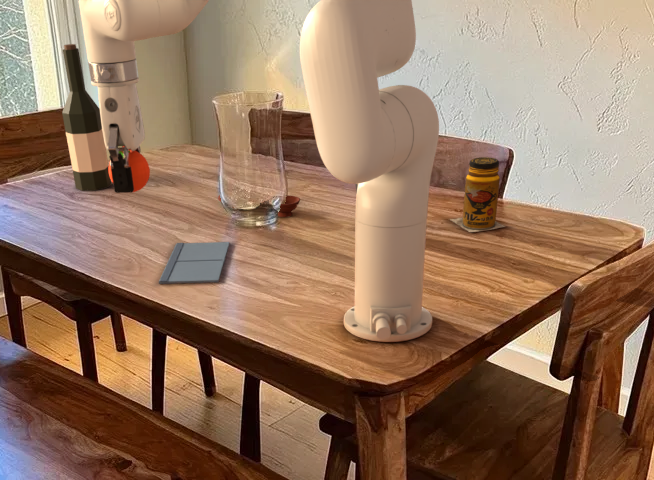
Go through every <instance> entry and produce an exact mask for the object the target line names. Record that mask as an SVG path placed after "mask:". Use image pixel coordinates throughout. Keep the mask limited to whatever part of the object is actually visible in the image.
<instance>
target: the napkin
mask: <svg viewBox="0 0 654 480" xmlns="http://www.w3.org/2000/svg"><path fill="white" fill-rule="evenodd" d="M230 244H231V243H230V241H218V242H217V241H214V242H212V241H211V242H177V243H175V246H174V247H173V250H172V252H171V254H170V255H169V259H168V261H167V263H166V264H165V267H164V269H163V271H162V274H161V276H160V278H159V280H158V284H159V285H165V284H169V285H170V284H201V283H202V284H203V283H207V284H208V283H219V282H220V279H221V275H222V272H223V268H224V264H225V262H226V258H227V254H228V251H229V247H230Z"/></svg>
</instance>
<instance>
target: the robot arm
mask: <svg viewBox="0 0 654 480" xmlns="http://www.w3.org/2000/svg"><path fill="white" fill-rule="evenodd" d="M209 1H210V0H78V6H79V13H80V19H81V25H82V32H83V39H84V44H85V45H84V46H85V51H86V57H87V63H88V64H87V65H88V68H89V69H88V70H89V76H90V85H91V86H93V87H97V95H98V105H99V106H98V107H99V109H100V116H101V124H102V131H103V137H104V142H105V146H106V151H108V153H109V157H108V158H109V160H110V161H109V163H110V166H111V172H112V178H113V183H112V184H113V190H114V191H113V192H114V193H116V194H125V193H127V194H128V193H134V192H133V191H134V185H133V178H132V171H131V167H129V150H132V151H137V152H139V153H140V154H141V152H142V151H141V145H142V143H143V142H144V141H145V139H146V132H145V127H144V121H143V113H142V108H141V102H140V98H139V92H138V88H137V83H139V82H140V77H139V71H138V70H139V69H138V61H137V54H136V46H135V42H136V41H137V42H138V41H143V40H148V39H153V38H158V37H165V36H171V35H175V34H178V33H180V32H182V31H183V30H185V29H186V28H187V27H189V25H191V23H193V21H194V20H195V19H196V18H197V16H198V15H199V14H200V13H201V12H202V10H203V9H204V8H205V7H206V5H207V4H208V2H209ZM414 15H415V14H414V7H413V1H412V0H319V1H318V2H317V3H316V4H315V5H314V6H313V7H312V8H311V9H310V10H309V12H308V13H307V15H306V17H305V19H304V21H303V25H302V28H301V32H300V39H299V59H300V61H299V62H300V67H301V72H302V73H301V74H302V78H303V82H304V83H303V84H304V87H305V94H306V98H307V103H308V108H309V114H310V119H311V123H312V128H313V133H314V138H315V143H316V147H317V149H318V153H319V156H320V159H321V161H322V163H323V165H324V166H325V168H326V170H327V171H328V172H329V173H330V174H331V175H332V176H333V177H334V178H335V179H337V180H338V181H340V182H342V183H346V184H351V185H356V184H358V188H357V194H356V193H355V195H356V196H355V197H356V198H355V212H354V213H355V215H354V216H355V217H354V225H355V226H354V305H353V306H352V307H350V308H348V309H347V310H346V312H345V313H344V315H343V325H344V326H343V327H344V328H345V329H346V331H348V332H349V333H350V334H351V335H353V336H355V337H358V338H360V339H364V340H367V341H373V342H381V343H395V342H396V343H397V342H406V341H409V340H414V339H416V338H419V337H422V336H424V335H425V334H427V333H428V332H429V331H430V330H431V328H432V326H433V316H432V313H431V312H430V311H429V309H427V308H425V306H423V293H424V276H425V257H426V242H427V241H426V240H427V225H428V223H427V222H428V214H429V213H428V212H429V197H430V188H431V187H430V186H431V178H432V172H433V167H434V162H435V159H436V154H437V153H436V152H437V148H438V144H439V137H440V136H439V134H440V120H439V114H438V111H437V108H436V105H435V103H434V102H433V100H432V99H431V97H429V95H428V94H427V93H426V92H425V91H423V90H421V89H420V88H418V87H415V86H412V85H407V84H395V85H391V86H387V87H383V88H379V81H378V80H379V78H381V77H384V76H387V75H389V74H392V73H395V72H397V71H399V70H400V69H402V68H403V67H404V66H405V65H406V64H407V63H409V61H410V60H411V58H412V57H413V54H414V52H415V50H416V40H417V32H416V21H415V16H414ZM123 153H124V159H123V156H122V155H121V154H123Z"/></svg>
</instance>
